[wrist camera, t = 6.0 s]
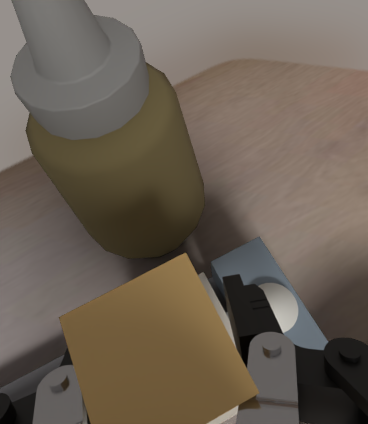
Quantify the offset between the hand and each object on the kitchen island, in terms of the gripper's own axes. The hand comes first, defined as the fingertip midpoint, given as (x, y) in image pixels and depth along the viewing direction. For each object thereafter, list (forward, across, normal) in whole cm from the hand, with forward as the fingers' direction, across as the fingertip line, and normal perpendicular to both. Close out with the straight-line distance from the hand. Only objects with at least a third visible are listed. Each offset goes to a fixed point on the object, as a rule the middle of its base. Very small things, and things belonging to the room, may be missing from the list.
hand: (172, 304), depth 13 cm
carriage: (+3, 0, +6) cm, 6 cm away
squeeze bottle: (+11, +2, 0) cm, 11 cm away
